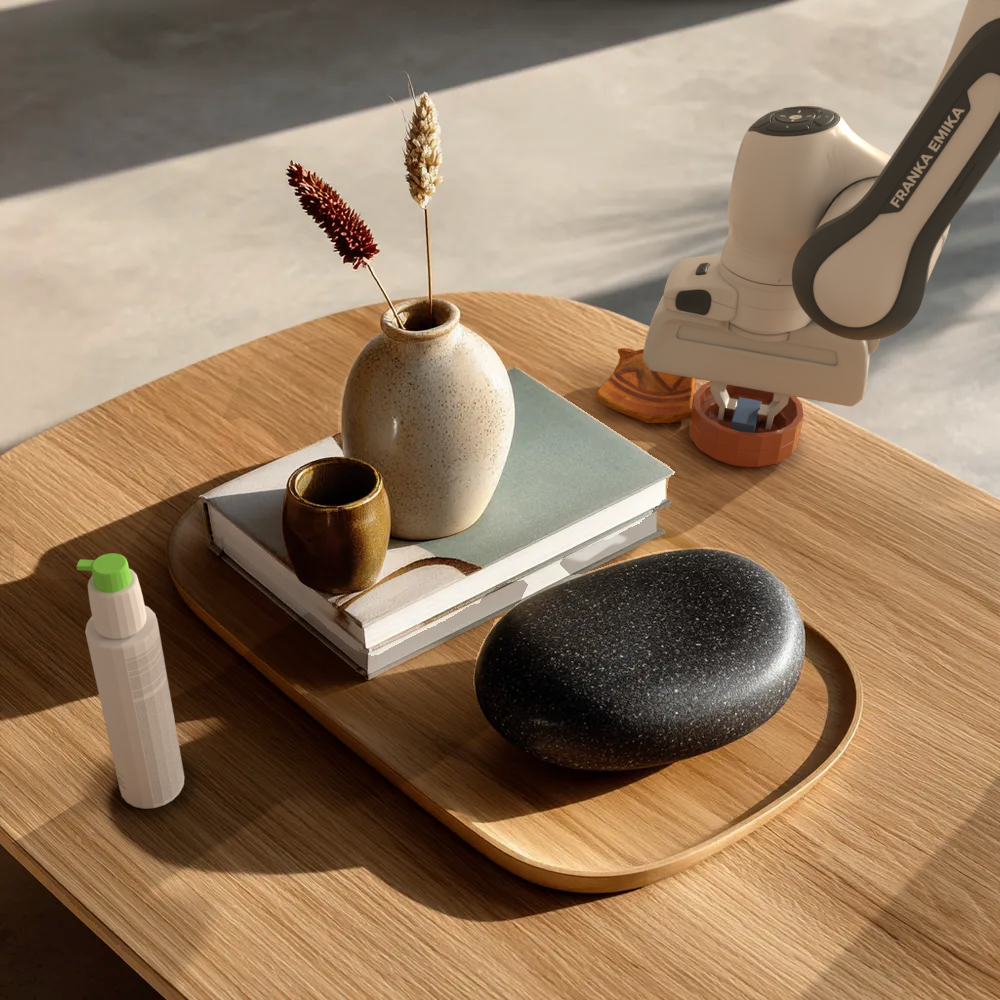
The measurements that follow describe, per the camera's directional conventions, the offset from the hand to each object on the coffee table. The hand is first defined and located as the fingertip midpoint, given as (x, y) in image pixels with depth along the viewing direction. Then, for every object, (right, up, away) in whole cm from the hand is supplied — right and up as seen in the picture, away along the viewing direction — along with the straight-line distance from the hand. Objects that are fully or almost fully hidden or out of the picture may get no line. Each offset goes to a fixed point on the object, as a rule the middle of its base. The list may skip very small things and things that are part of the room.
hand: (744, 422), depth 125 cm
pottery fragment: (-8, +3, +8) cm, 12 cm away
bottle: (-47, -27, -33) cm, 64 cm away
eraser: (0, -1, +1) cm, 2 cm away
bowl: (0, -2, +2) cm, 3 cm away
